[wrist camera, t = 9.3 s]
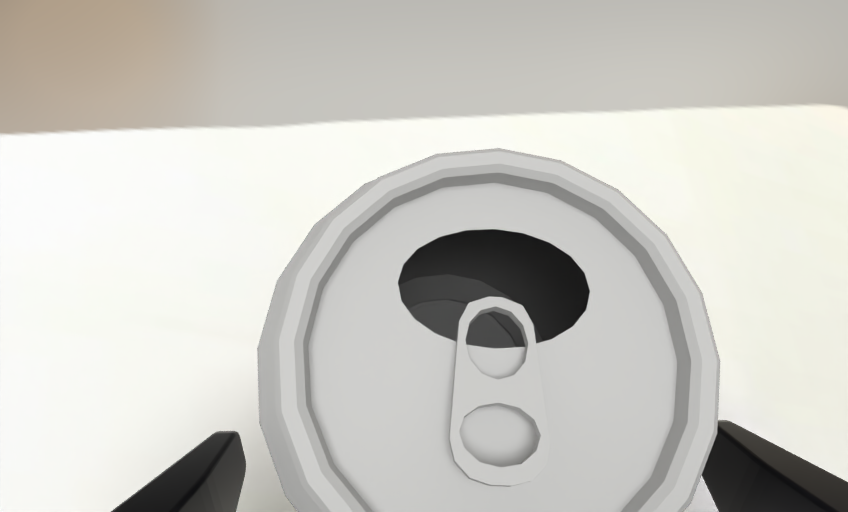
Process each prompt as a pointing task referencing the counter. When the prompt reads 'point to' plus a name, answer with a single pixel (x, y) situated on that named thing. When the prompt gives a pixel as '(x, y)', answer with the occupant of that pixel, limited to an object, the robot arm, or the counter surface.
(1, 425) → the counter surface
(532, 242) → the can
